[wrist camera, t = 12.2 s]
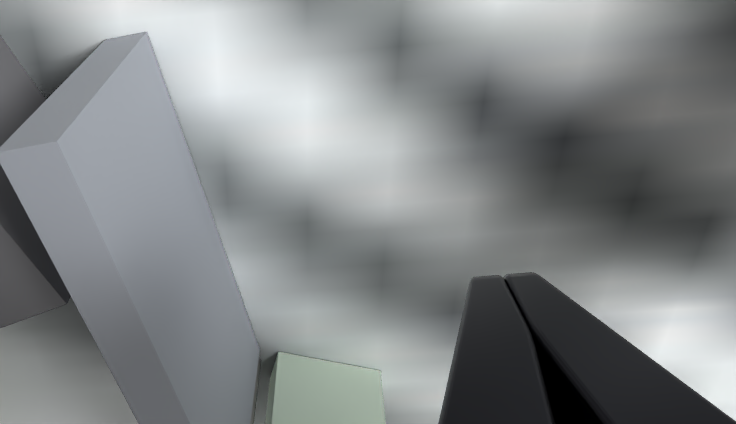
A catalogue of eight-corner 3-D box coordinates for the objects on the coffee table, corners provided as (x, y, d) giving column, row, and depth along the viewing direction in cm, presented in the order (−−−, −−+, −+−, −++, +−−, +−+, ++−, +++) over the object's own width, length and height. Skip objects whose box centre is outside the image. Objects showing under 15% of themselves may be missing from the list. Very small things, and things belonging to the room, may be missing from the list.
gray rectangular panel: (266, 368, 25) (245, 561, 18) (235, 373, 25) (203, 568, 18) (147, 31, 18) (46, 153, 12) (104, 39, 18) (-18, 165, 12)
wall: (380, 370, 25) (393, 513, 20) (369, 397, 26) (379, 541, 21) (-258, 251, 21) (-447, 394, 16) (-251, 288, 22) (-429, 434, 17)
